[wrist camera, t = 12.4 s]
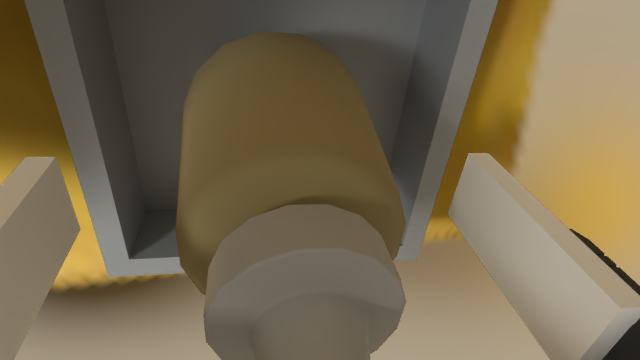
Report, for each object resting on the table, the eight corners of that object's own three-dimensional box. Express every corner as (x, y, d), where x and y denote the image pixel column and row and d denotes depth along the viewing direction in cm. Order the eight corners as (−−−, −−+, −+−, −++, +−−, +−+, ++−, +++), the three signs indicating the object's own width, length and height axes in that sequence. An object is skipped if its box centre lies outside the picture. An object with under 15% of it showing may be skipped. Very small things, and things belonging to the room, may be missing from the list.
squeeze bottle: (250, 181, 23) (260, 628, 8) (158, 67, 19) (-164, 599, 4) (368, 116, 22) (618, 502, 7) (300, -22, 18) (589, 260, 3)
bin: (131, 217, 24) (108, 277, 20) (51, -134, 15) (-24, -156, 11) (391, 209, 27) (416, 259, 23) (461, -84, 18) (525, -86, 14)
